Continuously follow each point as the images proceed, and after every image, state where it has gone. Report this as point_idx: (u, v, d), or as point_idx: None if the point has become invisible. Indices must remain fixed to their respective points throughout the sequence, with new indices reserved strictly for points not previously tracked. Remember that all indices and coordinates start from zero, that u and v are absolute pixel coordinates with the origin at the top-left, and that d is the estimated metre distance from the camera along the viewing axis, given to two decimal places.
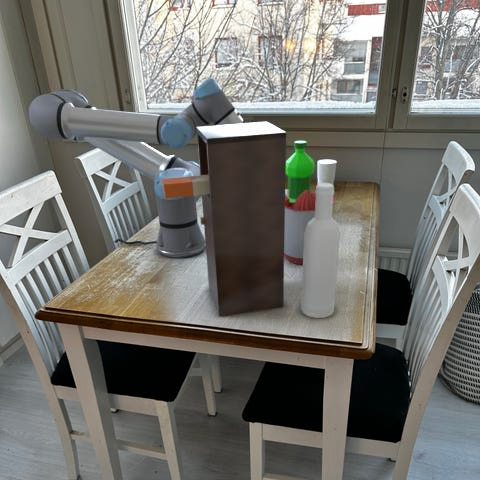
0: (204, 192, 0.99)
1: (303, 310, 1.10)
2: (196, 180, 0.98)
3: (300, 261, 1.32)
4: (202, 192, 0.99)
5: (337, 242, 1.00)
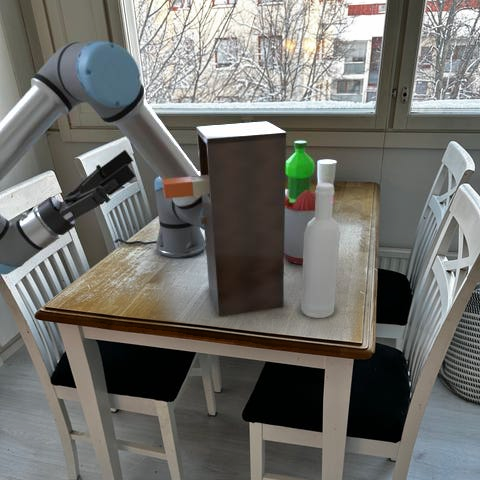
0: (204, 192, 0.99)
1: (303, 310, 1.10)
2: (196, 180, 0.98)
3: (300, 261, 1.32)
4: (202, 192, 0.99)
5: (337, 242, 1.00)
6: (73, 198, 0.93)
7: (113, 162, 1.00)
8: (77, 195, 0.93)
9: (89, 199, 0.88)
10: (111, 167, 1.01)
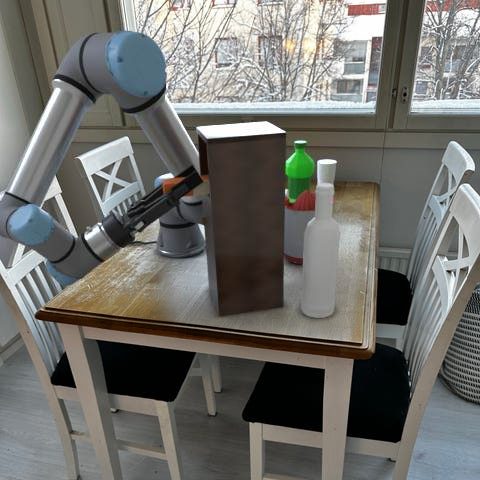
0: (204, 192, 0.99)
1: (303, 310, 1.10)
2: None
3: (300, 261, 1.32)
4: (202, 192, 0.99)
5: (337, 242, 1.00)
6: (140, 209, 0.98)
7: None
8: (143, 206, 0.98)
9: (163, 203, 0.95)
10: None
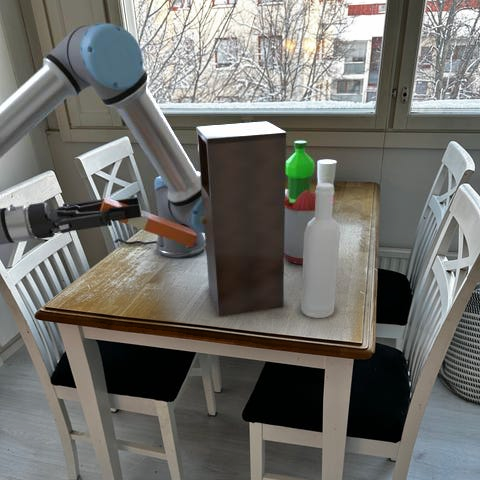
0: (137, 226, 1.05)
1: (303, 310, 1.10)
2: None
3: (300, 261, 1.32)
4: (136, 225, 1.04)
5: (337, 242, 1.00)
6: (72, 213, 1.00)
7: (121, 202, 1.06)
8: (76, 212, 1.00)
9: (96, 218, 0.98)
10: None
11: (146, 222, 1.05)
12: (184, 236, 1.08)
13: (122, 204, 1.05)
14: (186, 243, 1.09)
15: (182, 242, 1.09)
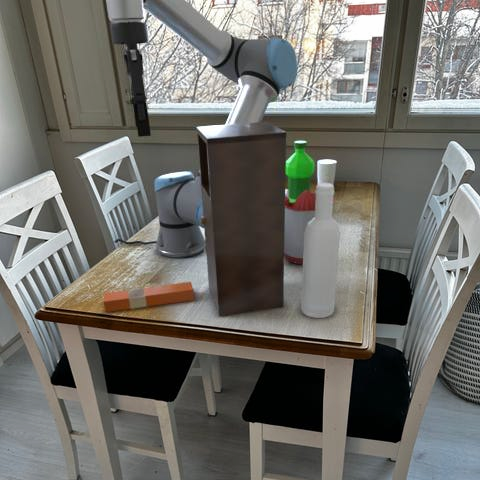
0: (140, 305, 1.15)
1: (303, 310, 1.10)
2: (132, 296, 1.14)
3: (300, 261, 1.32)
4: (138, 306, 1.15)
5: (337, 242, 1.00)
6: (142, 67, 0.98)
7: None
8: (142, 72, 0.98)
9: (142, 89, 0.95)
10: None
11: (145, 299, 1.15)
12: (183, 295, 1.16)
13: (120, 293, 1.16)
14: (187, 299, 1.17)
15: (183, 300, 1.17)
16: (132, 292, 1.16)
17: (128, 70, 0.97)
